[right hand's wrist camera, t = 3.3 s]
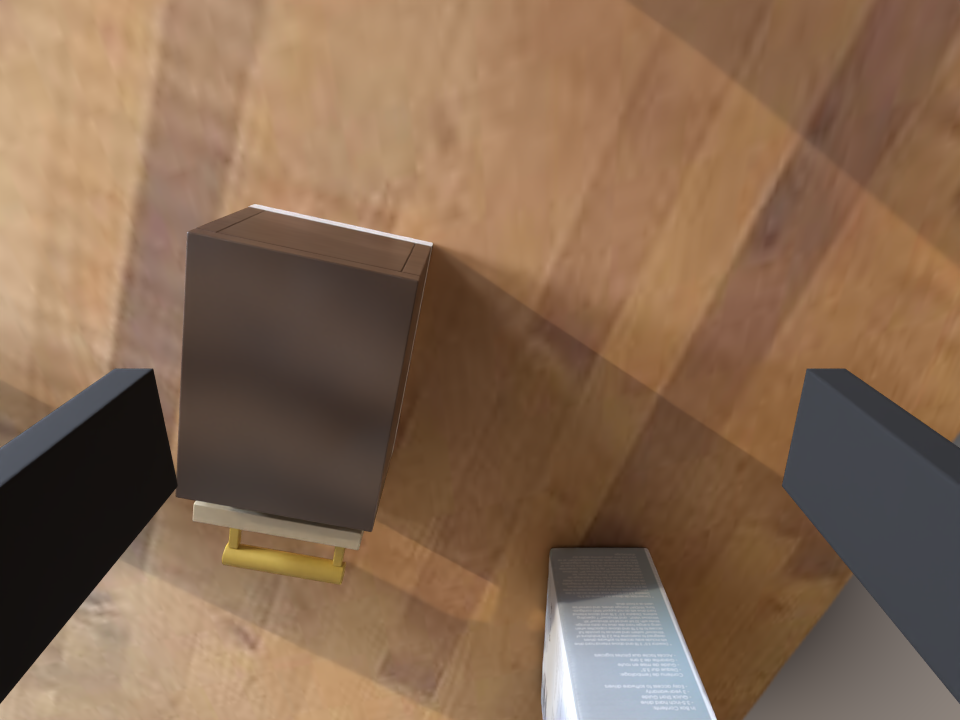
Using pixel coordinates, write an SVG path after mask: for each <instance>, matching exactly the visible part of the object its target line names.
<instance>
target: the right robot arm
mask: <svg viewBox="0 0 960 720" xmlns="http://www.w3.org/2000/svg"><path fill="white" fill-rule="evenodd" d="M177 487H178V484H177V479H176V474H175V469H174V465H173V460H172V455H171V451H170V446H169V441H168V436H167V432H166V427H165V422H164V418H163V413H162V408H161V403H160V399H159V394H158V389H157V385H156V380H155V375H154V370H153V369H114V370H112V371H111V372H109V373H108V374H107V375H105V376H104V377H102V378H101V379H99V380H98V381H96V382H95V383H94V384H92V385H91V386H89V387H88V388H86V389H85V390H83V391H82V392H81V393H79V394H78V395H76V396H75V397H73V398H72V399H70V400H69V401H68V402H66V403H65V404H63V405H62V406H60V407H59V408H57V409H56V410H55V411H53V412H52V413H50V414H49V415H47V416H46V417H44V418H43V419H42V420H40V421H39V422H37V423H36V424H34V425H33V426H32V427H30V428H29V429H27V430H26V431H24V432H23V433H21V434H20V435H19V436H17V437H16V438H14V439H13V440H11V441H10V442H8V443H7V444H6V445H4V446H3V447H1V448H0V703H1V702H2V701H3V700H4V699H5V697H6V696H7V695H8V694H9V692H10V691H11V690H12V689H13V688H14V686H15V685H16V684H17V683H18V681H19V680H20V679H21V678H22V677H23V675H24V674H25V673H26V672H27V670H28V669H29V668H30V667H31V665H32V664H33V663H34V662H35V661H36V659H37V658H38V657H39V656H40V654H41V653H42V652H43V651H44V650H45V648H46V647H47V646H48V645H49V643H50V642H51V641H52V640H53V639H54V637H55V636H56V635H57V634H58V632H59V631H60V630H61V629H62V627H63V626H64V625H65V624H66V623H67V621H68V620H69V619H70V618H71V616H72V615H73V614H74V613H75V612H76V610H77V609H78V608H79V607H80V605H81V604H82V603H83V602H84V601H85V599H86V598H87V597H88V596H89V594H90V593H91V592H92V591H93V589H94V588H95V587H96V586H97V585H98V583H99V582H100V581H101V580H102V578H103V577H104V576H105V575H106V574H107V572H108V571H109V570H110V569H111V567H112V566H113V565H114V564H115V563H116V561H117V560H118V559H119V558H120V556H121V555H122V554H123V553H124V552H125V550H126V549H127V548H128V547H129V545H130V544H131V543H132V542H133V540H134V539H135V538H136V537H137V536H138V534H139V533H140V532H141V531H142V529H143V528H144V527H145V526H146V525H147V523H148V522H149V521H150V520H151V518H152V517H153V516H154V515H155V514H156V512H157V511H158V510H159V509H160V507H161V506H162V505H163V504H164V502H165V501H166V500H167V499H168V498H169V496H170V495H171V494H172V493H173V491H174V490H175V489H176V488H177ZM782 487H783V488H784V489H785V490H786V491H787V493H788V494H789V495H790V496H791V498H792V499H793V500H794V501H795V502H796V504H797V505H798V506H799V507H800V509H801V510H802V511H803V512H804V514H805V515H806V516H807V517H808V518H809V520H810V521H811V522H812V523H813V525H814V526H815V527H816V528H817V529H818V531H819V532H820V533H821V534H822V536H823V537H824V538H825V539H826V540H827V542H828V543H829V544H830V545H831V547H832V548H833V549H834V550H835V552H836V553H837V554H838V555H839V556H840V558H841V559H842V560H843V561H844V563H845V564H846V565H847V566H848V567H849V569H850V570H851V571H852V572H853V574H854V575H855V576H856V577H857V578H858V580H859V581H860V582H861V583H862V585H863V586H864V587H865V588H866V590H867V591H868V592H869V593H870V594H871V596H872V597H873V598H874V599H875V600H876V602H877V603H878V604H879V605H880V607H881V608H882V609H883V610H884V612H885V613H886V614H887V615H888V616H889V618H890V619H891V620H892V621H893V623H894V624H895V625H896V626H897V627H898V629H899V630H900V631H901V632H902V634H903V635H904V636H905V637H906V638H907V640H908V641H909V642H910V643H911V645H912V646H913V647H914V648H915V650H916V651H917V652H918V653H919V654H920V656H921V657H922V658H923V659H924V661H925V662H926V663H927V664H928V665H929V667H930V668H931V669H932V670H933V672H934V673H935V674H936V675H937V677H938V678H939V679H940V680H941V681H942V683H943V684H944V685H945V686H946V688H947V689H948V690H949V691H950V692H951V694H952V695H953V696H954V697H955V699H956V700H957V701H958V702H959V703H960V448H959V447H957V446H956V445H954V444H953V443H952V442H950V441H949V440H947V439H946V438H944V437H943V436H941V435H940V434H939V433H937V432H936V431H934V430H933V429H931V428H930V427H928V426H927V425H926V424H924V423H923V422H921V421H920V420H918V419H917V418H916V417H914V416H913V415H911V414H910V413H908V412H907V411H905V410H904V409H903V408H901V407H900V406H898V405H897V404H895V403H894V402H892V401H891V400H890V399H888V398H887V397H885V396H884V395H882V394H881V393H879V392H878V391H877V390H875V389H874V388H872V387H871V386H869V385H868V384H866V383H865V382H864V381H862V380H861V379H859V378H858V377H856V376H855V375H853V374H852V373H851V372H849V371H848V370H846V369H807V370H806V375H805V380H804V385H803V389H802V394H801V399H800V403H799V408H798V413H797V418H796V422H795V427H794V432H793V436H792V441H791V446H790V451H789V455H788V460H787V465H786V469H785V474H784V479H783V484H782Z"/></svg>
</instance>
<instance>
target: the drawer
mask: <svg viewBox="0 0 960 720" xmlns="http://www.w3.org/2000/svg"><path fill="white" fill-rule="evenodd" d="M193 521H195V522H201V523H206V524H212V525H218V526H223V527H229V528H230V534H229V543H228V544H227V545H226V547H225V550H224V552H223V556H222V564H223V565H228V566H233V567H239V568H245V569H251V570H257V571H263V572H268V573H274V574H280V575H286V576H292V577H298V578H303V579H309V580H315V581H321V582H327V583H333V584H338V585H341V584H342V581H343V577H344V573H345V568H346V562H343V558H344V552H345V548H348V549H354V550H359V547H360V544H361V540H362V536H363V533H364V531H363V530H357V529H352V528H346V527H340V526H335V525H329V524H324V523H318V522H313V521H307V520H301V519H296V518H290V517H285V516H279V515H273V514H268V513H262V512H257V511H251V510H245V509H240V508H234V507H229V506H223V505H218V504H212V503H206V502H201V501H196V502H195V503H194V507H193ZM242 530H246V531H252V532H257V533H263V534H269V535H274V536H280V537H286V538H291V539H297V540H303V541H308V542H314V543H320V544H325V545H331V546H335V551H334V557H333V560H331V559H325V558H319V557H314V556H308V555H302V554H297V553H291V552H285V551H279V550H274V549H268V548H262V547H256V546H251V545H245V544H240V542H241V531H242Z"/></svg>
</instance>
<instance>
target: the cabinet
mask: <svg viewBox="0 0 960 720" xmlns="http://www.w3.org/2000/svg"><path fill="white" fill-rule="evenodd" d="M432 246H433V243H431V242H426V241H422V240H417V239H413V238H408V237H404V236H399V235H394V234H390V233H385V232H381V231H376V230H372V229H367V228H362V227H358V226H353V225H349V224H344V223H339V222H335V221H330V220H326V219H321V218H317V217H312V216H307V215H303V214H298V213H294V212H289V211H285V210H280V209H275V208H271V207H266V206H262V205H257V204H253V205H251V206H249V207H247V208H245V209H242V210H240V211H237V212H235V213H232V214H230V215H227V216H225V217H222V218H220V219H217V220H215V221H212V222H210V223H207V224H205V225H202V226H200V227H197V228H196V229H193V230H190V231H188V232H187V245H186V269H185V292H184V315H183V338H182V362H181V385H180V408H179V431H178V454H177V478H176V479H177V484H178V487H177V488H176V497H178V498H184V499H190V500H195V501H201V502H206V503H212V504H218V505H223V506H229V507H234V508H240V509H245V510H251V511H257V512H262V513H268V514H273V515H279V516H285V517H290V518H296V519H301V520H307V521H313V522H318V523H324V524H329V525H335V526H340V527H346V528H352V529H357V530H363V531H368V532H372V530H373V526H374V522H375V518H376V514H377V510H378V506H379V503H380V499H381V495H382V491H383V487H384V483H385V479H386V476H387V472H388V468H389V464H390V460H391V457H392V453H393V450H394V444H395V439H396V434H397V429H398V423H399V418H400V413H401V408H402V403H403V397H404V392H405V387H406V382H407V377H408V371H409V366H410V361H411V356H412V350H413V345H414V340H415V335H416V330H417V324H418V319H419V314H420V309H421V303H422V298H423V293H424V288H425V283H426V277H427V272H428V267H429V262H430V257H431V251H432Z"/></svg>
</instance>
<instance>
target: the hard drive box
mask: <svg viewBox="0 0 960 720" xmlns="http://www.w3.org/2000/svg"><path fill="white" fill-rule="evenodd" d="M541 706H542V715H543V720H717V718H716V715H715V713H714V710H713V708H712V705H711V703H710V701H709V698H708V696H707V693H706V691H705V688H704V686H703V683H702V681H701V679H700V676H699V674H698V671H697V669H696V666H695V664H694V661H693V659H692V656H691V654H690V651H689V649H688V647H687V644H686V642H685V639H684V637H683V634H682V632H681V629H680V627H679V624H678V622H677V619H676V617H675V614H674V612H673V609H672V607H671V604H670V602H669V599H668V597H667V595H666V592H665V590H664V587H663V585H662V583H661V580H660V577H659V575H658V572H657V570H656V567H655V565H654V563H653V560H652V558H651V555H650V553H649V550H648V549H647V548H552V549H551V550H550V556H549V577H548V590H547V609H546V623H545V640H544V655H543V670H542V689H541Z"/></svg>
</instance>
